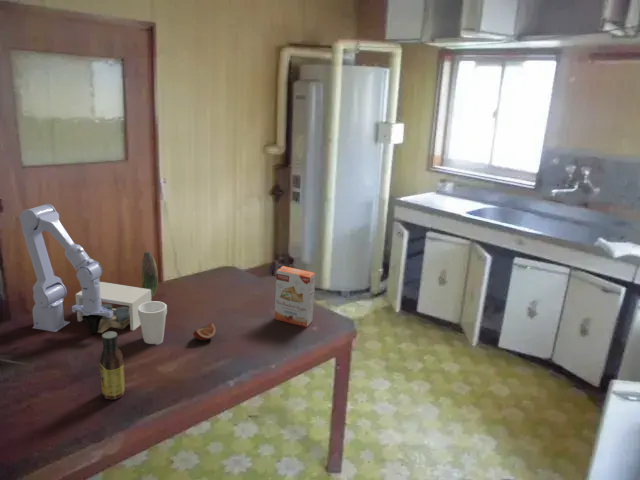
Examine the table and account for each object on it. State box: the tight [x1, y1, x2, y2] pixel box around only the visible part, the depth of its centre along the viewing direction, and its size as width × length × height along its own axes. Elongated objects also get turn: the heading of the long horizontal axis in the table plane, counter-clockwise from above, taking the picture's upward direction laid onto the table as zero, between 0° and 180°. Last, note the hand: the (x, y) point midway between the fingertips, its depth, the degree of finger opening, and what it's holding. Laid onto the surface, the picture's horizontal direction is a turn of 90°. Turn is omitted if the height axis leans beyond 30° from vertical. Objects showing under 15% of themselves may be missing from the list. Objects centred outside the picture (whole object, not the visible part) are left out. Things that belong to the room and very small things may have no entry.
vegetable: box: [141, 251, 159, 299], centre depth 215 cm, size 6×6×20 cm
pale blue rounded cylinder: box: [101, 303, 113, 320], centre depth 197 cm, size 4×4×4 cm
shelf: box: [74, 281, 152, 331], centre depth 196 cm, size 22×13×11 cm, turn 78°
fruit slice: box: [192, 322, 217, 341], centre depth 187 cm, size 8×7×5 cm
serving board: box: [97, 307, 130, 334], centre depth 193 cm, size 14×15×2 cm
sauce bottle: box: [99, 330, 126, 401], centre depth 151 cm, size 6×6×20 cm
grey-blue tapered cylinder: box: [115, 306, 129, 323], centre depth 196 cm, size 4×4×4 cm
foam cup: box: [138, 300, 168, 346], centre depth 183 cm, size 10×9×13 cm
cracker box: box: [273, 265, 317, 328], centre depth 203 cm, size 14×6×21 cm, turn 68°
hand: (94, 332), depth 185 cm, fingers closed, pressing on serving board
